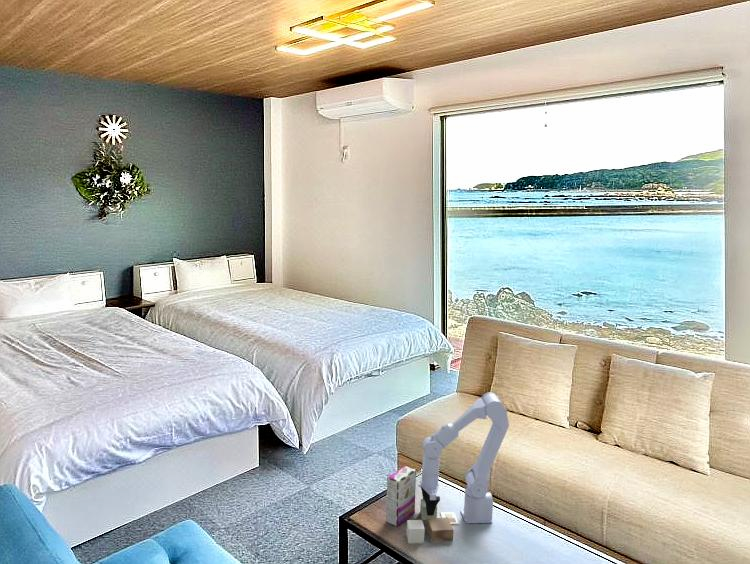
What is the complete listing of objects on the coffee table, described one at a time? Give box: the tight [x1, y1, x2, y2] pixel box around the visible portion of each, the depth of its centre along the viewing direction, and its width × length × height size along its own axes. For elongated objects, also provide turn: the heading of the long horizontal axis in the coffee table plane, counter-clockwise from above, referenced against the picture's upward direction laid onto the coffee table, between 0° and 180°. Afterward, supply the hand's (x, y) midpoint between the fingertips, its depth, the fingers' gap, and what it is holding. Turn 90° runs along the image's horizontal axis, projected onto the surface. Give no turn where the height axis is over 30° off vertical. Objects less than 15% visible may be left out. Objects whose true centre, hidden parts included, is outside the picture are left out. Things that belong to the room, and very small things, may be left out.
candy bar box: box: [385, 465, 417, 527], centre depth 190 cm, size 11×5×16 cm, turn 143°
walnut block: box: [426, 517, 454, 542], centre depth 181 cm, size 7×7×4 cm
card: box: [439, 511, 460, 526], centre depth 191 cm, size 5×7×1 cm
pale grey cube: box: [406, 519, 425, 544], centre depth 179 cm, size 5×5×5 cm
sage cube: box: [419, 498, 438, 521], centre depth 192 cm, size 5×5×5 cm
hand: (428, 508), depth 192 cm, fingers open, 7 cm apart
